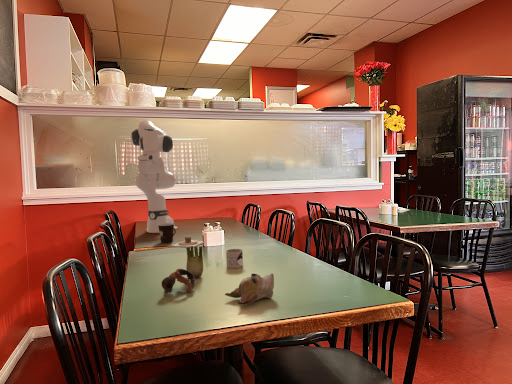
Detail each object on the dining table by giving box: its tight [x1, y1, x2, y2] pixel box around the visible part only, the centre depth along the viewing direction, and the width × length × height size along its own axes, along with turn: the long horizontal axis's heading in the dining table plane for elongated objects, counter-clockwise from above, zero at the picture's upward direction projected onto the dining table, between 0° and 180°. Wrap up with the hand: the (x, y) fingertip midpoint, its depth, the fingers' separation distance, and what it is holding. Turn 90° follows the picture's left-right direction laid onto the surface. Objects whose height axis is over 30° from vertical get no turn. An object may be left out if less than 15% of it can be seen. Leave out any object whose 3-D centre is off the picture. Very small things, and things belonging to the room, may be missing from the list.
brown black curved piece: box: [161, 268, 196, 294], centre depth 122 cm, size 12×10×8 cm
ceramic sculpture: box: [224, 273, 275, 306], centre depth 112 cm, size 11×9×15 cm
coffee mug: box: [158, 223, 177, 244], centre depth 205 cm, size 12×9×10 cm
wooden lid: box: [177, 236, 199, 245], centre depth 198 cm, size 10×10×3 cm
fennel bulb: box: [185, 245, 204, 279], centre depth 137 cm, size 6×5×12 cm
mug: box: [225, 248, 244, 270], centre depth 152 cm, size 10×7×7 cm, turn 168°
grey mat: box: [171, 240, 205, 249], centre depth 198 cm, size 13×13×1 cm
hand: (152, 181), depth 207 cm, fingers open, 8 cm apart
